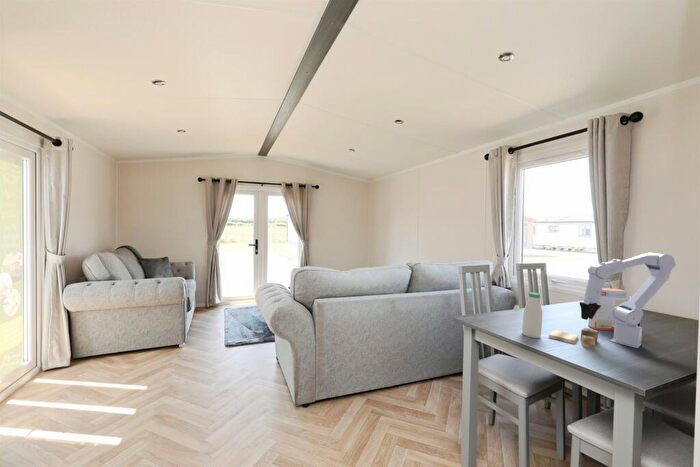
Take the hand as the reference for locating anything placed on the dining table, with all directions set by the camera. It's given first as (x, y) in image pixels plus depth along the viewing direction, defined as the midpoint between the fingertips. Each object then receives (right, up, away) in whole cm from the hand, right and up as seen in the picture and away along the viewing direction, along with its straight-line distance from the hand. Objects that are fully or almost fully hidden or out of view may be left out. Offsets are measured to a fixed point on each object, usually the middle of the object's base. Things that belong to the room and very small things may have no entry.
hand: (586, 318), depth 149 cm
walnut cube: (0, -10, -1) cm, 10 cm away
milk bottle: (-24, -9, +3) cm, 26 cm away
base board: (-10, -9, +1) cm, 14 cm away
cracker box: (+23, -10, +19) cm, 31 cm away
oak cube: (-6, -10, -8) cm, 14 cm away
